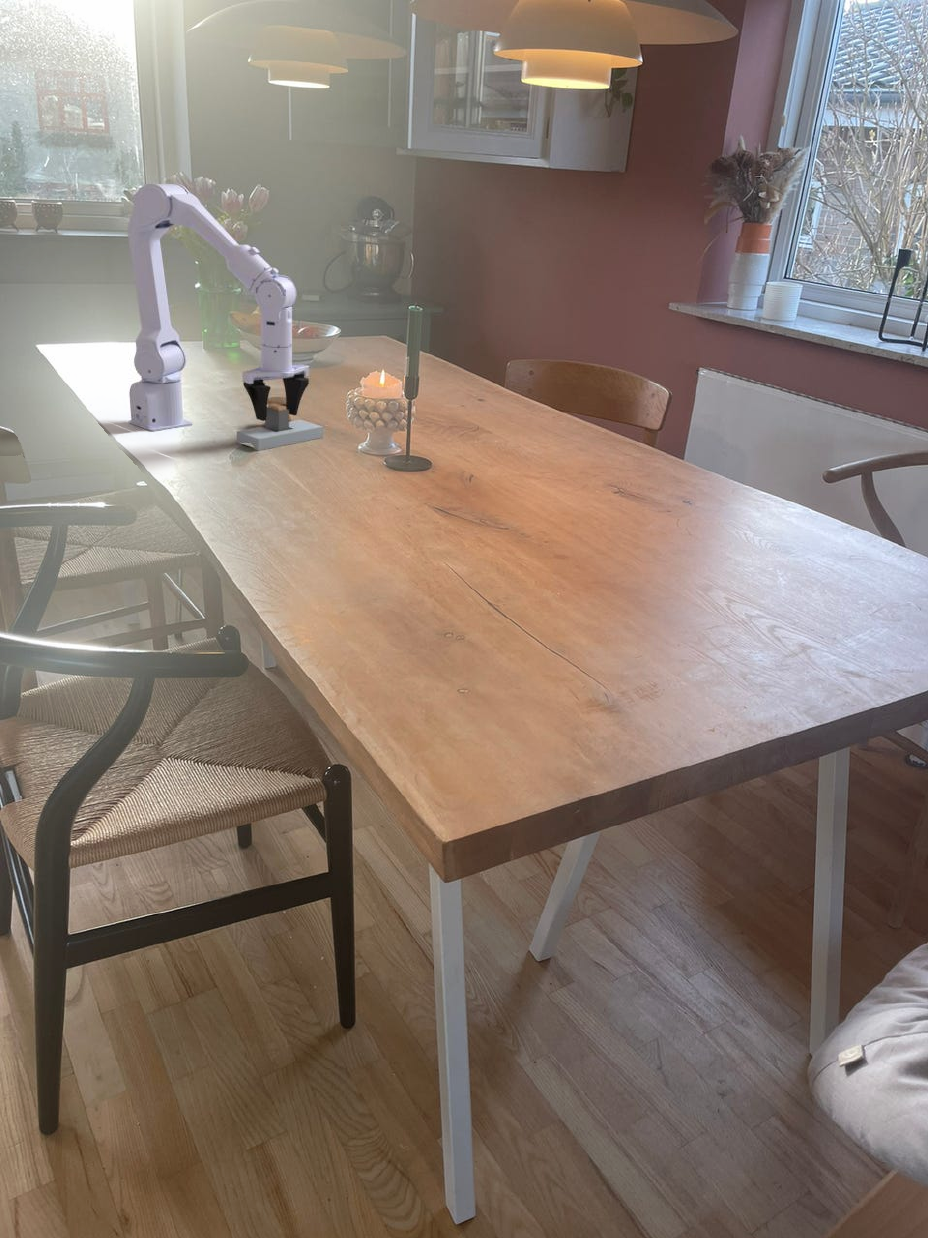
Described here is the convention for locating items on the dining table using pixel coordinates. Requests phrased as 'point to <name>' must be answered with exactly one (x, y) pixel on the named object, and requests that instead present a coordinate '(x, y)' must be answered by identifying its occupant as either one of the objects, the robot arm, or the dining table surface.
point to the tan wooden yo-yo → (278, 401)
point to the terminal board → (280, 435)
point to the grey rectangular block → (277, 418)
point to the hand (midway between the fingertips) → (276, 416)
